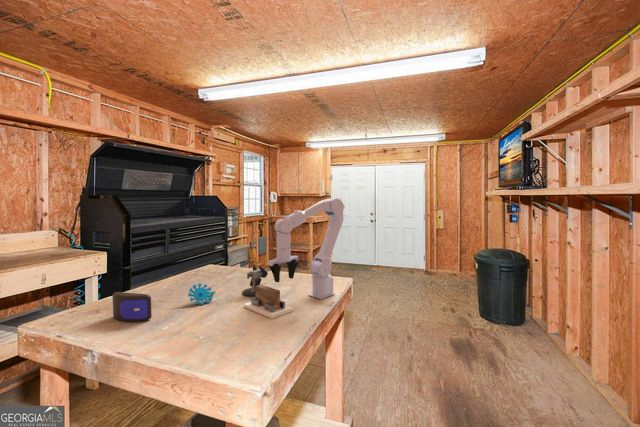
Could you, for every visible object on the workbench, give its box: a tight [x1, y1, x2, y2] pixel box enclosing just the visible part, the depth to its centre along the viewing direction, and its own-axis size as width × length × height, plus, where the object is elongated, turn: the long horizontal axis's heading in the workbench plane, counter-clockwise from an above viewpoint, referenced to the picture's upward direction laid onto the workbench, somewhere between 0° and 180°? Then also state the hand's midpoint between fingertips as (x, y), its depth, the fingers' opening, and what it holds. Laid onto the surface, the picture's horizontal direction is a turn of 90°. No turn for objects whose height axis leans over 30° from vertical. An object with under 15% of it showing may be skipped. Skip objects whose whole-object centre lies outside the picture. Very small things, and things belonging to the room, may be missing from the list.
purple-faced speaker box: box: [112, 291, 153, 323], centre depth 104 cm, size 16×5×9 cm, turn 76°
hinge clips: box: [250, 297, 286, 312], centre depth 114 cm, size 6×14×2 cm, turn 47°
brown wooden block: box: [255, 284, 281, 310], centre depth 115 cm, size 4×12×7 cm, turn 47°
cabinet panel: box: [243, 301, 294, 319], centre depth 114 cm, size 10×18×1 cm, turn 47°
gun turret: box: [241, 265, 271, 298], centre depth 138 cm, size 13×20×13 cm, turn 154°
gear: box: [187, 282, 217, 306], centre depth 123 cm, size 11×6×10 cm
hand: (284, 280), depth 122 cm, fingers open, 7 cm apart
